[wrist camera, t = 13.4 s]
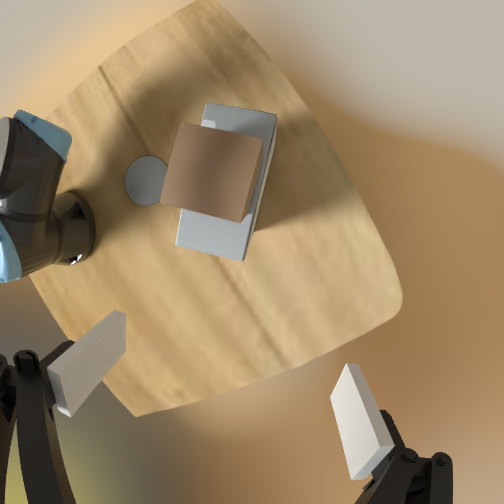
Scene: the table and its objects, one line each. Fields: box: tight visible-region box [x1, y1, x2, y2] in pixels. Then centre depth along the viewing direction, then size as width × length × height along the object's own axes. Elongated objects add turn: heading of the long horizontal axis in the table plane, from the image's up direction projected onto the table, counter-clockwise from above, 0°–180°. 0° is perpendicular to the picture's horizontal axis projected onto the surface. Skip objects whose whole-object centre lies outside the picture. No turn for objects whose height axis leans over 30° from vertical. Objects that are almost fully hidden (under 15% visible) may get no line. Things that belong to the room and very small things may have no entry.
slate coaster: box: [125, 156, 167, 205], centre depth 46 cm, size 9×9×1 cm
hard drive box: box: [176, 103, 277, 261], centre depth 36 cm, size 16×8×20 cm, turn 167°
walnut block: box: [159, 122, 263, 223], centre depth 22 cm, size 6×6×8 cm
